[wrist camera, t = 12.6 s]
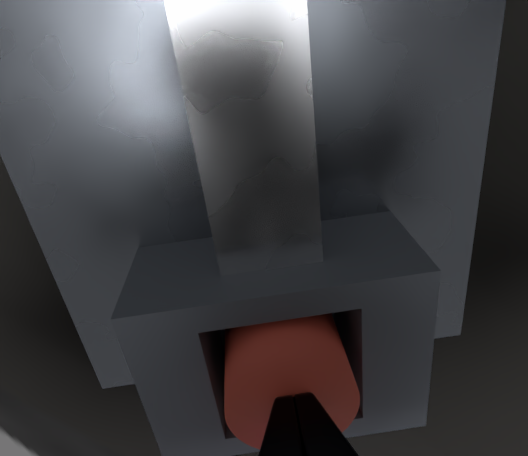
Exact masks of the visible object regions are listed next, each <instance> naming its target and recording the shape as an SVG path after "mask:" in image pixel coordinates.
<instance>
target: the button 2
mask: <svg viewBox="0 0 528 456" xmlns="http://www.w3.org/2000/svg"><path fill="white" fill-rule="evenodd" d="M307 392H311V393H313V394H314V395H315V396H316V398H317V399H318V400H319V402H320V403H321V405H322V406H323V407H324V409H325V410H326V412H327V413H328V414H329V416H330V417H331V418H332V420H333V421H334V423H335V424H336V425H337V427H338V428H339V429H340V431H341V432H343V431H344V430H346V429H347V428H348V426H349V425H350V424H351V423H352V421H353V420H354V418H355V417H356V414H357V412H358V409H359V405H360V393H359V389H358V386H357V384H356V381H355V378H354V375H353V372H352V369H351V367H350V364H349V361H348V358H347V355H346V353H345V350H344V347H343V344H342V341H341V338H340V336H339V333H338V330H337V327H336V324H335V322H334V319H333V316H332V313H329V314H322V315H315V316H309V317H302V318H295V319H289V320H282V321H275V322H268V323H262V324H255V325H248V326H242V327H235V328H228V329H225V382H224V414H225V420H226V423H227V425H228V427H229V429H230V431H231V432H232V433H233V434H234V435H235V436H236V437H237V438H238V439H239V440H241V441H242V442H244V443H245V444H247V445H249V446H251V447H254V448H256V449H260V448H261V444H262V441H263V437H264V434H265V430H266V427H267V423H268V420H269V416H270V413H271V409H272V406H273V402H274V400H275V398H276V397H280V396H287V395H292V396H293V397H294V396H295V395H296V394H300V393H307Z"/></svg>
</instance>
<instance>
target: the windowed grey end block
mask: <svg viewBox="0 0 528 456" xmlns="http://www.w3.org/2000/svg"><path fill="white" fill-rule="evenodd" d="M321 233H322V249H323V261H322V262H316V263H309V264H302V265H295V266H288V267H282V268H275V269H268V270H261V271H254V272H248V273H241V274H234V275H227V276H220V271H219V266H218V262H217V257H216V252H215V247H214V242H213V237H208V238H201V239H194V240H187V241H180V242H173V243H167V244H160V245H153V246H146V247H139V248H138V249H137V252H136V254H135V257H134V259H133V262H132V265H131V267H130V270H129V272H128V275H127V278H126V280H125V283H124V285H123V288H122V291H121V293H120V296H119V298H118V301H117V304H116V306H115V309H114V311H113V314H112V317H111V319H110V320H111V323H112V325H113V328H114V331H115V333H116V336H117V338H118V341H119V344H120V346H121V349H122V352H123V354H124V357H125V360H126V362H127V365H128V367H129V370H130V373H131V375H132V378H133V381H134V383H135V386H136V388H137V391H138V394H139V396H140V399H141V402H142V404H143V407H144V410H145V412H146V415H147V417H148V420H149V423H150V425H151V428H152V431H153V433H154V436H155V438H156V441H157V444H158V446H159V449H160V452H161V454H162V456H233V455H240V454H246V453H253V452H259V451H260V449H256V448H254V447H251V446H249V445H247V444H245V443H244V442H242V441H241V440H239V439H238V438H237V437H236V436H235V435H234V434H233V433H232V432H231V431H230V429H229V427H228V425H227V423H226V420H225V414H224V382H225V350H224V345H223V341H222V336H221V332H220V330H222V329H228V328H235V327H242V326H248V325H255V324H262V323H268V322H275V321H282V320H289V319H295V318H302V317H309V316H315V315H322V314H329V313H334V315H335V324H336V327H337V330H338V333H339V336H340V338H341V341H342V344H343V347H344V350H345V353H346V355H347V358H348V361H349V364H350V367H351V369H352V372H353V375H354V378H355V381H356V384H357V386H358V389H359V393H360V405H359V409H358V412H357V414H356V417H355V418H354V420H353V421H352V423H351V424H350V425H349V426H348V428H347V429H346V430H344V431H343V432H342V434H343V435H344V436H345V438H350V437H356V436H363V435H369V434H376V433H382V432H389V431H395V430H401V429H408V428H414V427H421V426H426V419H427V409H428V399H429V389H430V378H431V368H432V358H433V347H434V337H435V327H436V316H437V306H438V296H439V286H440V275H441V270H440V269H439V268H438V267H437V265H436V264H435V263H434V262H433V261H432V259H431V258H430V257H429V256H428V255H427V254H426V252H425V251H424V250H423V249H422V248H421V246H420V245H419V244H418V243H417V242H416V241H415V239H414V238H413V237H412V236H411V235H410V233H409V232H408V231H407V230H406V229H405V228H404V226H403V225H402V224H401V223H400V222H399V221H398V219H397V218H396V217H395V216H394V215H393V213H392V212H391V211H387V212H380V213H373V214H366V215H359V216H352V217H345V218H338V219H332V220H325V221H321Z"/></svg>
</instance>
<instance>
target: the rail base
mask: <svg viewBox="0 0 528 456" xmlns="http://www.w3.org/2000/svg"><path fill="white" fill-rule="evenodd" d="M505 5H506V0H0V155H1V157H2V160H3V162H4V164H5V166H6V169H7V171H8V173H9V176H10V178H11V180H12V182H13V185H14V187H15V189H16V192H17V194H18V196H19V199H20V201H21V203H22V205H23V208H24V210H25V212H26V215H27V217H28V219H29V221H30V224H31V226H32V228H33V231H34V233H35V235H36V238H37V240H38V242H39V244H40V247H41V249H42V251H43V254H44V256H45V258H46V261H47V263H48V265H49V267H50V270H51V272H52V274H53V277H54V279H55V281H56V283H57V286H58V288H59V290H60V293H61V295H62V297H63V300H64V302H65V304H66V306H67V309H68V311H69V313H70V316H71V318H72V320H73V322H74V325H75V327H76V329H77V332H78V334H79V336H80V339H81V341H82V343H83V345H84V348H85V350H86V352H87V355H88V357H89V359H90V361H91V364H92V366H93V368H94V371H95V373H96V375H97V378H98V380H99V382H100V384H101V387H102V389H105V388H111V387H118V386H124V385H131V384H135V383H134V381H133V378H132V375H131V373H130V370H129V367H128V365H127V362H126V360H125V357H124V354H123V352H122V349H121V346H120V344H119V341H118V338H117V336H116V333H115V331H114V328H113V325H112V323H111V320H110V319H111V317H112V314H113V311H114V309H115V306H116V304H117V301H118V298H119V296H120V293H121V291H122V288H123V285H124V283H125V280H126V278H127V275H128V272H129V270H130V267H131V265H132V262H133V259H134V257H135V254H136V252H137V249H138V248H139V247H146V246H153V245H160V244H167V243H173V242H180V241H187V240H194V239H201V238H208V237H213V242H214V247H215V252H216V257H217V262H218V266H219V271H220V276H227V275H234V274H241V273H248V272H254V271H261V270H268V269H275V268H282V267H288V266H295V265H302V264H309V263H316V262H322V261H323V249H322V233H321V221H325V220H332V219H338V218H345V217H352V216H359V215H366V214H373V213H380V212H387V211H391V212H392V213H393V215H394V216H395V217H396V218H397V219H398V221H399V222H400V223H401V224H402V225H403V226H404V228H405V229H406V230H407V231H408V232H409V233H410V235H411V236H412V237H413V238H414V239H415V241H416V242H417V243H418V244H419V245H420V246H421V248H422V249H423V250H424V251H425V252H426V254H427V255H428V256H429V257H430V258H431V259H432V261H433V262H434V263H435V264H436V265H437V267H438V268H439V269H440V270H441V275H440V286H439V296H438V306H437V316H436V327H435V337H434V339H436V338H442V337H449V336H456V335H461V329H462V321H463V314H464V307H465V299H466V292H467V285H468V277H469V270H470V262H471V255H472V248H473V240H474V233H475V226H476V218H477V211H478V204H479V196H480V189H481V181H482V174H483V167H484V159H485V152H486V145H487V137H488V130H489V123H490V115H491V108H492V101H493V93H494V86H495V78H496V71H497V64H498V56H499V49H500V42H501V34H502V27H503V20H504V12H505ZM332 316H333V319H334V322H335V315H334V313H332ZM220 332H221V336H222V341H223V345H224V350H225V329H222V330H220Z"/></svg>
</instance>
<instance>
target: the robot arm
mask: <svg viewBox="0 0 528 456" xmlns="http://www.w3.org/2000/svg"><path fill="white" fill-rule="evenodd" d="M258 456H358V454H357V453H356V451H355V450H354V449H353V447H352V446H351V445H350V443H349V442H348V440H347V439H346V438H345V436H344V435H343V434H342V432H341V431H340V429H339V428H338V427H337V425H336V424H335V423H334V421H333V420H332V418H331V417H330V416H329V414H328V413H327V412H326V410H325V409H324V407H323V406H322V405H321V403H320V402H319V400H318V399H317V398H316V396H315V395H314V394H313V393H311V392H307V393H300V394H296V395H295V396H294V397H293V396H292V395H287V396H280V397H276V398H275V400H274V402H273V406H272V409H271V413H270V416H269V420H268V423H267V427H266V430H265V434H264V437H263V441H262V444H261V448H260V452H259V455H258Z"/></svg>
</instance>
